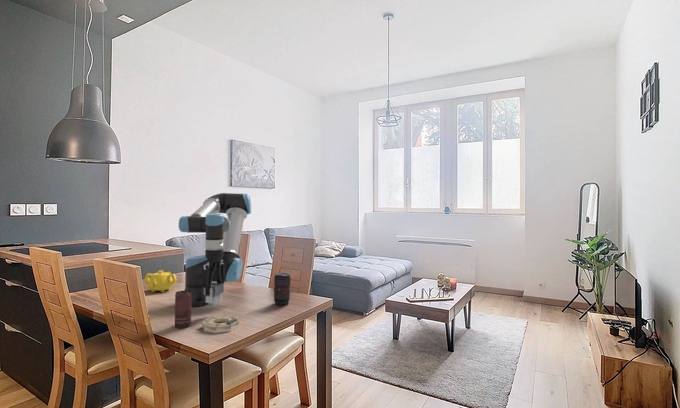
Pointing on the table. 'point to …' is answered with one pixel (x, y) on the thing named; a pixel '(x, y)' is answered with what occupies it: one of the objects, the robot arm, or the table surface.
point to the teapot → (160, 281)
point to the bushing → (216, 293)
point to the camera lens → (282, 289)
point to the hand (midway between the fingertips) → (213, 300)
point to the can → (183, 309)
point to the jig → (220, 324)
